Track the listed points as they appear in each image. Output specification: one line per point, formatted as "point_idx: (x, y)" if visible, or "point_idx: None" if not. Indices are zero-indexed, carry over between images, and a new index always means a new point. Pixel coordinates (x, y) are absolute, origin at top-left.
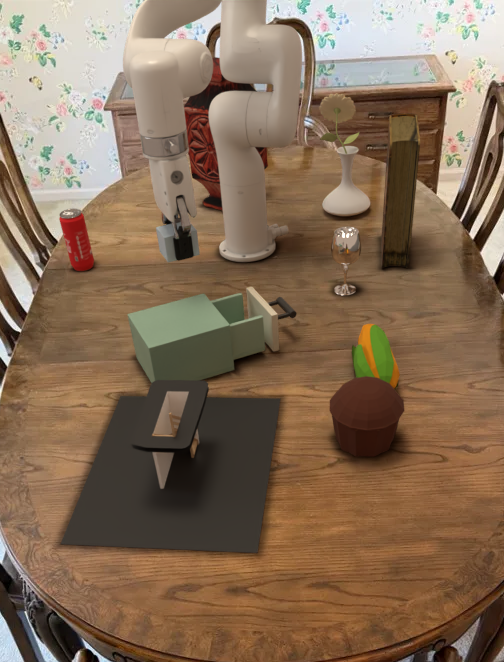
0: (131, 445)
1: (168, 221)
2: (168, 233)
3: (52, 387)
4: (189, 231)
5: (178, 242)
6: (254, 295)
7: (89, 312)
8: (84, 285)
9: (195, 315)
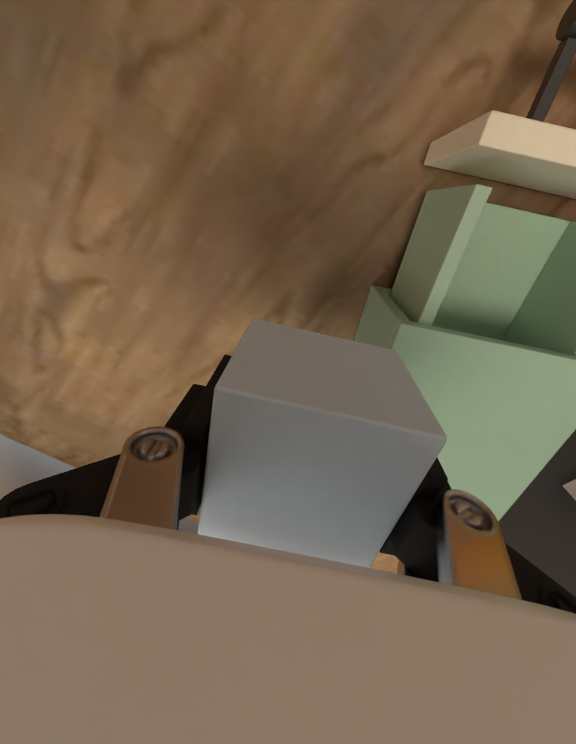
0: (508, 519)
1: (186, 509)
2: (327, 556)
3: None
4: (562, 590)
5: None
6: (557, 155)
7: (122, 414)
8: (3, 377)
9: (484, 409)
